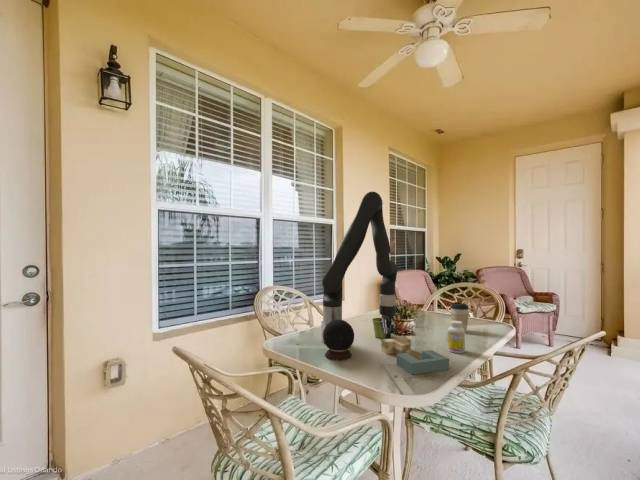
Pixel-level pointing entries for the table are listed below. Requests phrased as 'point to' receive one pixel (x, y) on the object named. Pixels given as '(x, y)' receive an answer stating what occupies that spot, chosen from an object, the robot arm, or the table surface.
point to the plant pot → (378, 328)
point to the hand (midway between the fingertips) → (388, 341)
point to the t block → (396, 345)
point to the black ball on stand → (338, 340)
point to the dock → (423, 362)
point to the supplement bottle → (456, 337)
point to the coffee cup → (460, 314)
